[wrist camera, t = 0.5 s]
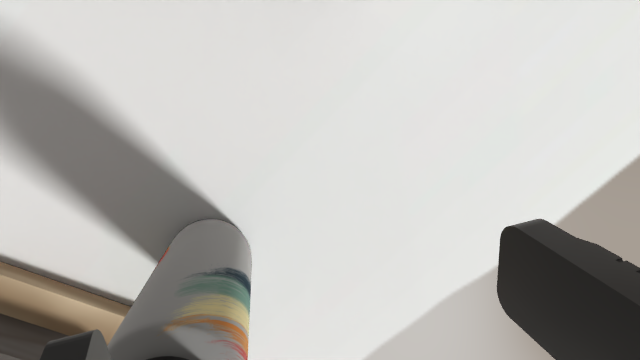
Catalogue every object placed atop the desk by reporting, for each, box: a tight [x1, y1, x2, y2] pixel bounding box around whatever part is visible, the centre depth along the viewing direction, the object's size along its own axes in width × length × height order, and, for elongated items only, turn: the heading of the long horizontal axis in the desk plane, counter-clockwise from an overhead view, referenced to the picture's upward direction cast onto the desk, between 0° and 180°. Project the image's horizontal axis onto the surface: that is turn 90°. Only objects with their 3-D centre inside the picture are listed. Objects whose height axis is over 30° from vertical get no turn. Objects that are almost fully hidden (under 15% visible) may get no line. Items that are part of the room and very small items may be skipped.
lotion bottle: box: [107, 219, 252, 360], centre depth 22 cm, size 6×6×20 cm
